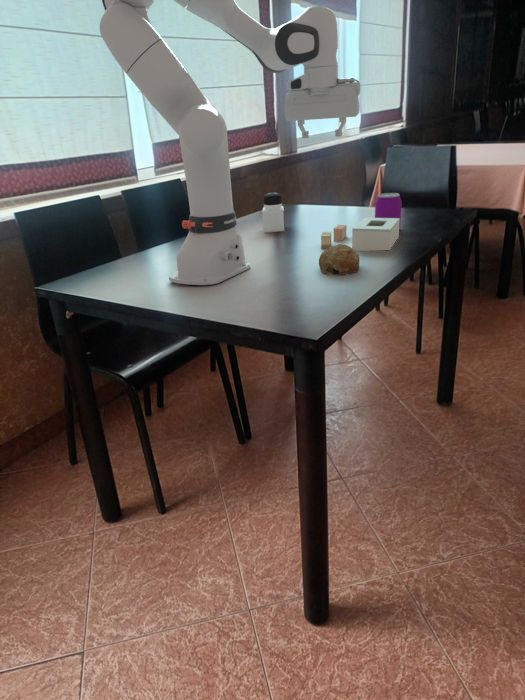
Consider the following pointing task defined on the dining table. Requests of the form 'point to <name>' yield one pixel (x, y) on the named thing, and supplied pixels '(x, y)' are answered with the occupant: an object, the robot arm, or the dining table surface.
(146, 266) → the dining table surface
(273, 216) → the medicine bottle
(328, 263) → the bread roll
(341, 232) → the salmon pink block
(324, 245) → the maple token
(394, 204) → the beverage can
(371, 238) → the box
